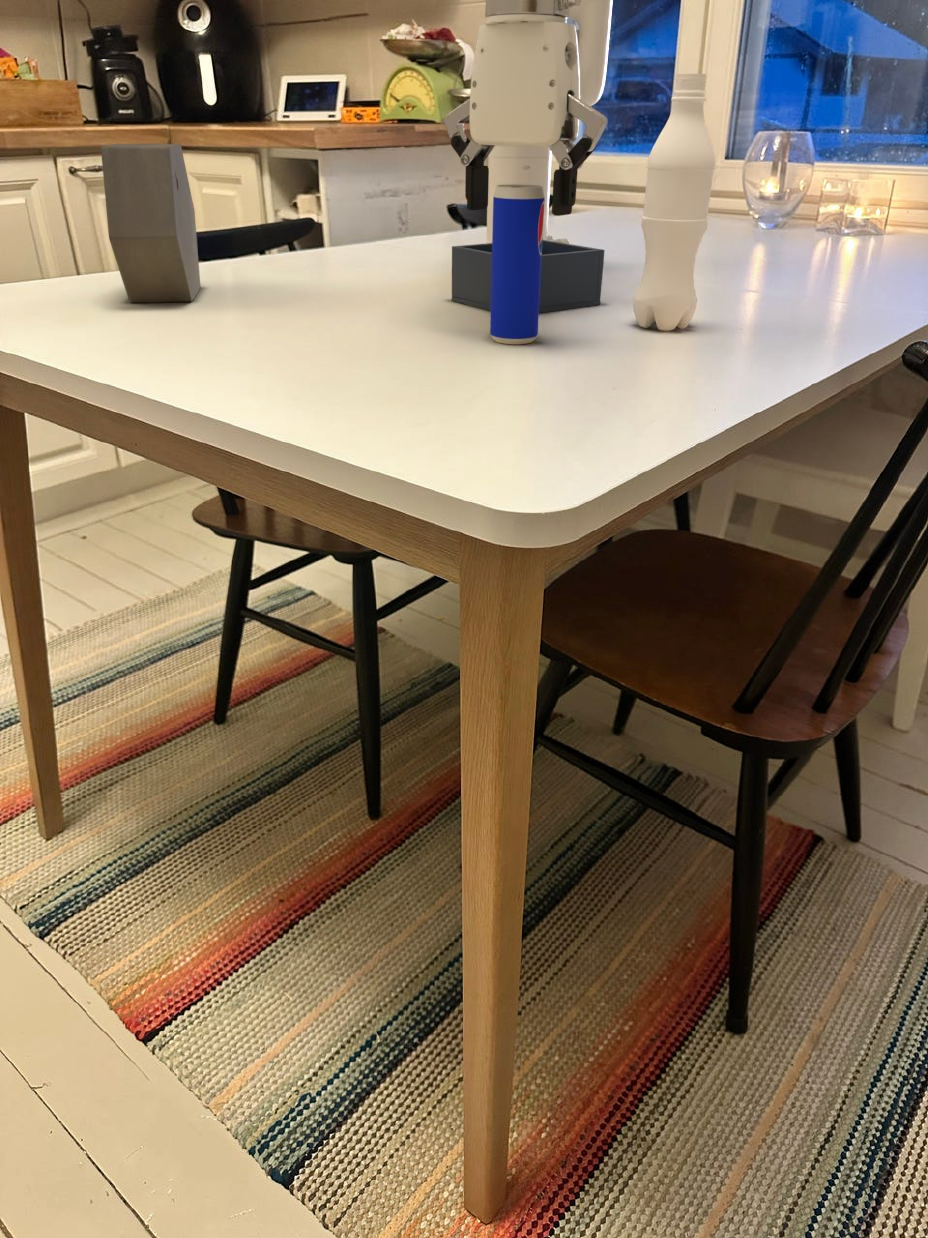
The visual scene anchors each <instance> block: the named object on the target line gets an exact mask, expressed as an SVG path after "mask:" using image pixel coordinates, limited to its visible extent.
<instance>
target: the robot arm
mask: <svg viewBox="0 0 928 1238" xmlns="http://www.w3.org/2000/svg"><path fill="white" fill-rule="evenodd" d="M613 1H614V0H485V20H484V21H485V22H484V23H485V24H480V25H479V29H478V32H477V37H476V44H475V49H474V54H473V62H472V70H471V80H470V92H469V98H468V99H467V100H465V101H464V102H462V103H461V104H460V105H458V106H457V107H456V108H454V109H452V110H451V111H449V112H448V113H446V114H445V115H444V117H443V124H444V127H445V129H446V133H447V134H448V137H449V138H450V145H451V147H452V149H453V150H454V152H455V153H456V154H457V156H458V157H459V159H460V164H461V165H462V166H463V167H465V179H464V180H465V181H464V182H465V186H464V190H465V191H464V192H465V193H464V194H465V195H464V196H465V200H466V209H467V210H468V211H478V210H479V211H480V210H486V241H485V244H486V243H492V233H493V196H494V193H495V190H496V186H497V185H538V186H542V187H543V192H544V197H545V202H544V222H543V240H548V241H554V242H560V243H566V244H570V241H569V239H568V238H557V239H554V238H553V235H548V230H549V214H550V194H551V178H552V177H551V176H552V175H551V174H552V159H553V157H554V159H555V160H556V162H557V163H558V169H555V170H554V172H553V182H552V184H553V185H552V200H551V214H552V215H553V216H555V217H561V216H566V215H567V216H568V215H571V214H572V211H573V207H574V205H575V204H576V200H577V185H578V171H579V169H582V167H583V165H584V162H586V160H587V159H588V158H589V157H590V156H591V155H592V154H593V153H594V152H595V150H596V149H597V146H598V142H599V141H600V139H601V137H602V135H603V133H604V131H605V129H606V127H607V125H608V118H607V117H606V116H605V115H604V114H602V113H601V112H600V111H598V110H597V109H596V108H593V107H592V106H594V105H595V104H596V103H598V102H599V101H600V100H601V97H602V95H603V93H604V88H605V85H606V79H607V78H606V77H607V69H608V57H609V46H610V35H611V25H612V12H613ZM568 20H572V21H574V22H575V23H576V24H577V26H578V29H577V27H576V24H575V23H569V22H568ZM468 120H469V133H470V137H471V139H470V138H469V137H468V136H467V135H466V134H465V132H466V131H465V128H464V125H465V123H466V122H467V121H468ZM580 121H581V122H582V123H583V124H584V125H585V129H584V132H583V135H582V137H581V138H580V139H579V140H578V141H577V142H576V144H575V143H574V142H575V141H576V140H577V139H578V136H579V130H580ZM487 158H488V159H487ZM486 159H487V162H488V163H487V165H485V161H486Z"/></svg>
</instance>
